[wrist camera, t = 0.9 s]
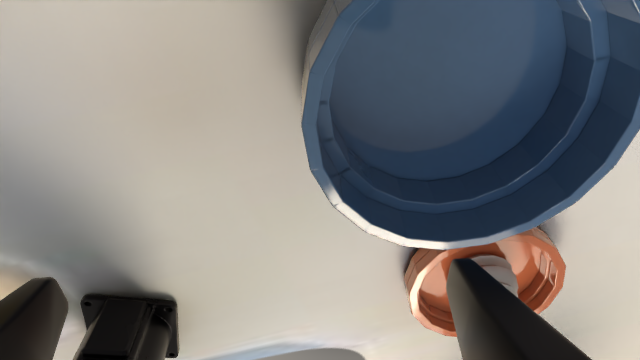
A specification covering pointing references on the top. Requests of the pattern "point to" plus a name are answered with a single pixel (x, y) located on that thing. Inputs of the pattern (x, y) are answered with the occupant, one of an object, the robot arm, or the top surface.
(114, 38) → the top surface
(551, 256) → the orange round lid
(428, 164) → the bowl
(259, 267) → the top surface
